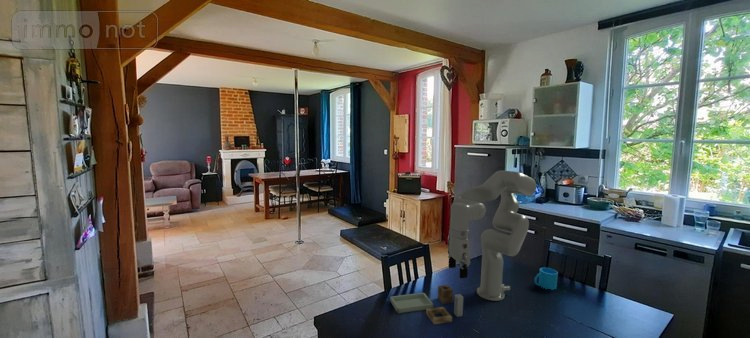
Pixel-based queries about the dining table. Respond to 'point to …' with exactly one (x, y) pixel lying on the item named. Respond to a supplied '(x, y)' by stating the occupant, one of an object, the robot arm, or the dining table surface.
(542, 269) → the mug
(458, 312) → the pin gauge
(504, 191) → the robot arm
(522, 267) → the dining table surface
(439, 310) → the square wooden frame
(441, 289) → the walnut block
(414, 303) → the tray
